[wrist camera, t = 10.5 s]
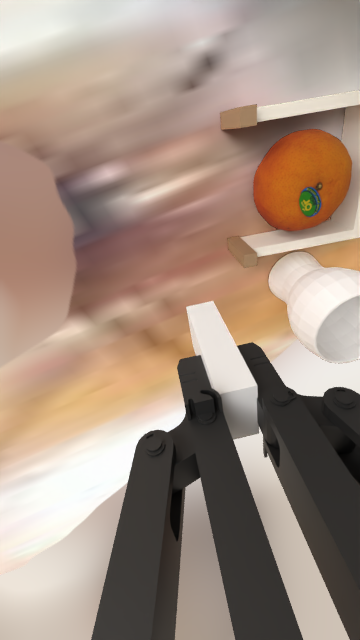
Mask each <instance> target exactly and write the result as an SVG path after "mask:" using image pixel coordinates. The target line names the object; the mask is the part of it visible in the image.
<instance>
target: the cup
mask: <svg viewBox="0 0 360 640" xmlns="http://www.w3.org/2000/svg"><path fill="white" fill-rule="evenodd" d="M268 282H269V288H270V290H271V292H272V293H273V294H274V295H275V296H276V297H278V298H279V299H281V300H282V301H284V302H286V304H287V312H288V318H289V322H290V325H291V328H292V330H293V332H294V335H295V336H296V337H297V338H298V339H299V341H300V342H301V343H302V344H303V345H304V346H305V347H306V348H307V349H308V350H309V351H311V352H312V353H314V354H315V355H317V356H318V357H320V358H322V359H323V360H325V361H328V362H330V363H348V362H352V361H355V360H358V359H360V271H356V270H352V269H346V268H339V267H330V268H325V267H322V266H321V265H320V264H319V262H318V261H317V260H316V259H315V258H314V257H313V256H312V255H310V254H309V253H306V252H302V251H300V252H293V253H290V254H287V255H285V256H284V257H282V258H281V259H280V260H279V261H278V262H276V264H275V265H274V266H273V268H272V270H271V272H270V274H269V280H268Z"/></svg>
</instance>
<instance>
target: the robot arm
mask: <svg viewBox="0 0 360 640" xmlns="http://www.w3.org/2000/svg"><path fill="white" fill-rule="evenodd" d="M186 309H187V314H188V320H189V326H190V331H191V337H192V342H193V347H194V351H195V354H196V356H193V357H189V358H184V359H180V361H179V364H178V367H177V369H178V374H179V379H180V383H181V388H182V393H183V397H184V402H185V408H186V415H185V418H184V420H183V421H182V423H181V424H180V425H179V426H177V427H176V428H174V429H173V430H171V431H169V432H165V431H162V430H154V431H150V432H148V433H147V434H145V435H144V436H143V437H142V438H141V439H140V440H139V442H138V444H137V446H136V450H135V454H134V459H133V463H132V467H131V471H130V476H129V480H128V484H127V489H126V493H125V498H124V502H123V506H122V510H121V514H120V519H119V523H118V527H117V532H116V536H115V540H114V544H113V549H112V553H111V558H110V562H109V566H108V570H107V575H106V579H105V583H104V587H103V592H102V596H101V600H100V604H99V609H98V613H97V617H96V622H95V626H94V630H93V635H92V639H91V640H175V627H176V613H177V599H178V585H179V570H180V556H181V541H182V528H183V514H184V499H185V487H186V486H188V485H189V484H191V483H192V482H194V481H196V480H197V479H199V478H200V477H201V482H202V487H203V491H204V496H205V501H206V505H207V510H208V515H209V519H210V524H211V528H212V533H213V538H214V542H215V547H216V552H217V556H218V561H219V566H220V570H221V575H222V579H223V584H224V589H225V594H226V598H227V603H228V608H229V612H230V617H231V622H232V626H233V631H234V635H235V640H303V638H302V635H301V632H300V629H299V626H298V624H297V621H296V618H295V615H294V612H293V609H292V606H291V603H290V601H289V598H288V595H287V592H286V589H285V587H284V584H283V581H282V578H281V575H280V572H279V570H278V567H277V564H276V561H275V558H274V555H273V552H272V549H271V547H270V544H269V541H268V538H267V535H266V532H265V530H264V527H263V524H262V521H261V518H260V515H259V512H258V510H257V507H256V504H255V501H254V498H253V496H252V493H251V490H250V487H249V484H248V481H247V478H246V475H245V473H244V470H243V467H242V464H241V461H240V459H239V456H238V453H237V450H236V447H235V444H234V441H233V439H237V438H242V437H246V436H250V435H254V434H258V433H259V427H260V429H261V431H262V434H263V451H264V456H265V457H267V453H268V455H269V457H270V460H271V462H272V464H273V466H274V469H275V471H276V473H277V476H278V478H279V480H280V482H281V484H282V487H283V489H284V491H285V494H286V496H287V498H288V501H289V503H290V505H291V507H292V510H293V512H294V514H295V516H296V519H297V521H298V523H299V526H300V528H301V530H302V532H303V534H304V537H305V539H306V541H307V544H308V546H309V548H310V550H311V553H312V555H313V557H314V560H315V562H316V564H317V566H318V568H319V571H320V573H321V575H322V578H323V580H324V582H325V584H326V587H327V589H328V591H329V593H330V596H331V598H332V600H333V603H334V605H335V607H336V609H337V612H338V614H339V616H340V618H341V621H342V623H343V625H344V628H345V630H346V632H347V634H348V636H349V639H350V640H360V394H358V393H356V392H355V391H353V390H351V389H347V388H344V387H334V388H331V389H328V390H327V391H326V392H325V393H324V396H323V397H316V396H315V397H314V396H303V395H299V394H297V393H296V392H295V391H294V390H292V389H290V388H288V387H286V386H285V384H284V383H283V381H282V380H281V378H280V377H279V375H278V373H277V372H276V370H275V369H274V367H273V366H272V364H271V363H270V361H269V359H268V358H267V357H266V355H265V353H264V352H263V350H262V349H261V348H260V347H259V346H257V345H256V344H254V343H253V342H252V343H248V344H243V345H239V346H236V344H235V342H234V340H233V338H232V336H231V334H230V332H229V330H228V328H227V327H226V325H225V323H224V321H223V319H222V317H221V315H220V313H219V311H218V310H217V308H216V306H215V304H214V302H213V301H210V302H206V303H201V304H197V305H192V306H188V307H186Z"/></svg>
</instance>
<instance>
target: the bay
mask: <svg viewBox="0 0 360 640" xmlns="http://www.w3.org/2000/svg"><path fill="white" fill-rule="evenodd" d="M342 107H346V109H345V117H344V124H343V132H342V139H341V142H342V143H343V144H344V146H345V147H346V148H347V150H348V153H349V155H350V157H351V160H352V171H351V181H350V186H349V190H348V192H347V195H346V197H345V198H344V200H343V202H342V203H341V204H340V206H339V207H338V208H337V209H336V210H335V211H334V213H333V214H332V215H331V220H329V221H324V222H322V223H321V224H319V225H317V226H315V227H312V228H309V229H304V230H298V231H284V230H276V231H270V232H265V233H260V234H254V235H249V236H244V237H239V236H236V237H231V238H227V241H228V250H229V251H230V252H231V253H232V255H233V256H234V257H235V258H236V259H237V260H238V262H239V263H240V264H241V265H242V266H243V267H244V268H247V267H253V266H257V257H261V256H266V255H271V254H276V253H281V252H287V251H292V250H297V249H302V248H307V247H313V246H318V245H323V244H328V243H333V242H339V241H344V240H349V239H354V238H360V90H356V91H351V92H345V93H339V94H333V95H327V96H321V97H315V98H309V99H304V100H298V101H292V102H286V103H280V104H274V105H268V106H262V107H257V104H255V105H250V106H244V107H239V108H235V109H231V110H228V111H224V112H221V113H220V118H221V130H222V129H234V128H243V127H249V126H255V125H257V122H261V121H267V120H272V119H278V118H284V117H290V116H296V115H301V114H307V113H313V112H319V111H325V110H330V109H336V108H342Z"/></svg>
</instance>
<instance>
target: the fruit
mask: <svg viewBox="0 0 360 640" xmlns="http://www.w3.org/2000/svg"><path fill="white" fill-rule="evenodd" d="M351 171H352V160H351V157H350V155H349V153H348V150H347V148H346V147H345V146H344V144H343V143H342V142H341V141H340V140H339V139H337V138H336V137H335V136H333V135H331V134H329V133H327V132H324V131H322V130H318V129H309V130H301V131H296V132H293V133H291V134H288V135H287V136H285V137H283V138H281V139H280V140H279V141H277V142H276V143H275V144H274V145H273V146H272V147H271V149H270V150H269V151H268V153H267V154H266V156H265V157H264V159H263V160H262V162H261V163H260V165H259V166H258V169H257V171H256V174H255V176H254V202H255V204H256V207H257V210H258V211H259V213H260V214H261V216H262V217H263V218H264V219H265V220H266V221H267V222H268V223H269V224H270V225H271V226H273V227H275V228H277V229H280V230H284V231H298V230H304V229H309V228H312V227H315V226H317V225H319V224H321V223H322V222H324V221H325V220H327V219H328V218H329V217H330V216H331V215H332V214H333V213H334V211H335V210H336V209H337V208H338V207H339V206H340V204H341V203H342V202H343V200H344V198H345V197H346V195H347V192H348V190H349V186H350V181H351Z"/></svg>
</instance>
